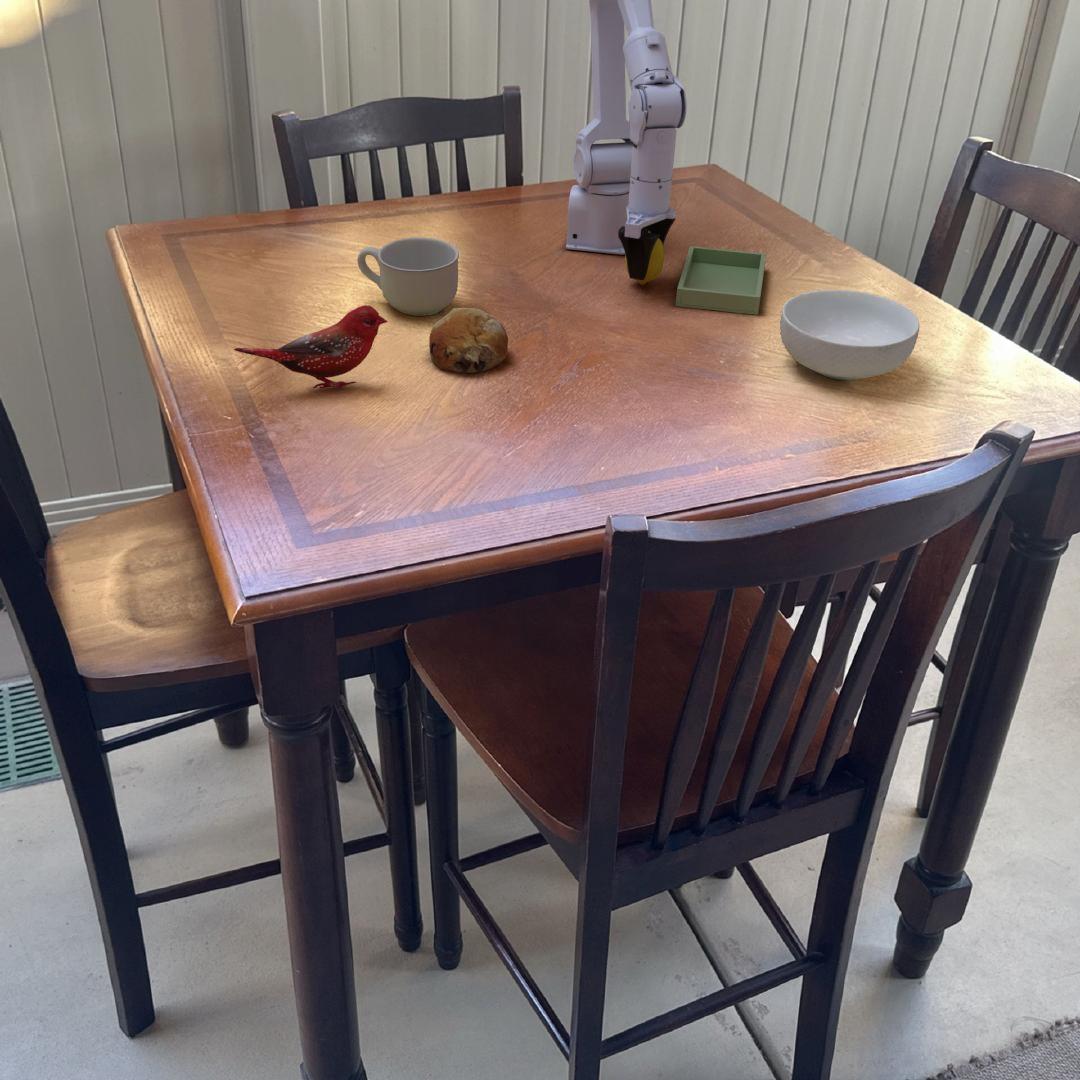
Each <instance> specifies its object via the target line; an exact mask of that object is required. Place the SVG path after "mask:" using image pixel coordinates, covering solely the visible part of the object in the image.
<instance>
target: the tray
mask: <svg viewBox="0 0 1080 1080" xmlns="http://www.w3.org/2000/svg"><path fill="white" fill-rule="evenodd" d="M766 258H767V253H764V252H753V251H746V250H745V251H744V250H736V249H735V250H734V249H725V248H715V247H704V246H694V245H693V246H692V245H689V248H688V251H687V254H686V258H685V261H684V263H683V268H682V271H681V274H680V278H679V280H678V281H679V282H678V285H677V288H676V295H675V296H676V297H675V307H681V308H690V309H697V310H698V309H699V310H708V311H717V312H718V311H719V312H726V313H727V312H728V313H737V314H746V315H755V316H758V314H759V309H760V303H761V295H762V289H763V288H762V287H763V279H764V274H765V273H764V272H765V265H766Z"/></svg>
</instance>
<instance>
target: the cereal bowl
mask: <svg viewBox="0 0 1080 1080" xmlns="http://www.w3.org/2000/svg"><path fill="white" fill-rule="evenodd" d="M779 322H780V323H779V330H780V331H779V332H780V333H779V334H780V338H781V342H782V344H783V345H784V349H785V350H786V351H787V353H788V354H789V355H790V356H791V357H792V358H793V359H794V361H797V363H799V364H801V365H802V366H804V367H806V368H808V369H809V370H812V371H814V372H816V373H817V374H819V375H821V376H824V377H826V378H830V379H834V380H837V381H858V380H863V379H867V378H868V379H869V378H874V377H878V376H882V375H884V374H885V375H886V374H889V373H891V372H892V371H895V370H896V369H897V368H899V367H901V365H903V364H904V363H905V362H906V361H907V360H908V359H909V357H910V356H911V354H912V353H913V351H914V349H915V346H916V344H917V340H918V337H919V333H920V320H919V318H918V317H917V315H916V314H915V313H914V311H912V310H911V309H910V308H908V307H907V306H905V305H903V304H901V303H900V302H897V301H895V300H893V299H890V298H887V297H885V296H882V295H878V294H874V293H869V292H863V291H857V290H849V289H848V290H847V289H820V290H812V291H807V292H803V293H800V294H798V295H795V296H793V297H791V298H789V299H788V300H787V301H786V302H785V303H784V304H783V306H782V310H781V313H780V321H779Z"/></svg>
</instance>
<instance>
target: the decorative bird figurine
mask: <svg viewBox="0 0 1080 1080" xmlns="http://www.w3.org/2000/svg"><path fill="white" fill-rule="evenodd" d="M385 323H388V320H387V319H385V318H384V317H382V316H381V315H380V314H379V312H378V311H377V310H376V309H375V307H373V306H372V305H367V304H366V305H364V304H363V305H362V306H358V307H356V308H354V309H352V310H351V311H349V312H347V313H346V314H345V315H344V316H343V317H342V318H341V319H340V320H339V321H338V322H337V323H335V324H333V325H330V326H328V327H326V328H323V329H319V330H317V331H314V332H311V333H308V334H305V335H303V336H300V337H298V338H295V339H294V340H292V341H290V342H288V343H286V344H285V345H283V346H281V347H279V348H257V347H256V348H254V347H236V348H234V349H233V350H234V351H236V352H239V353H243V354H247V355H251V356H257V357H259V358H265V359H268V360H272V361H274V362H276V363H279V364H280V365H282V366H283V367H284V368H286V369H288V370H289V371H291V372H293V373H298V374H304V375H307V376H310V377H313V378H315V379H316V380H318V381H320V383H317V384H315V385H314V386H313V387H312V388H313V389H315V388H317V387H319V389H326V388H327V389H328V388H335V389H339V388H340V389H341V388H343V387H345V386H348V385H351V384H357V383H358V382H357V381H349V382H345V381H334V380H331V379H330V378H335V377H338V376H342V375H345V374H347V373H349V372H351V371H352V370H354V369H355V368H357V367H358V366H360V364H362V363H363V362H364V360H365V359H366V358H367V357H368V355H369V354H370V352H371V350H372V347H373V345H374V342H375V340H376V339H375V338H376V337H377V335H378V333H379V327H380V326H381V325H383V324H385ZM328 378H329V379H328Z"/></svg>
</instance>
